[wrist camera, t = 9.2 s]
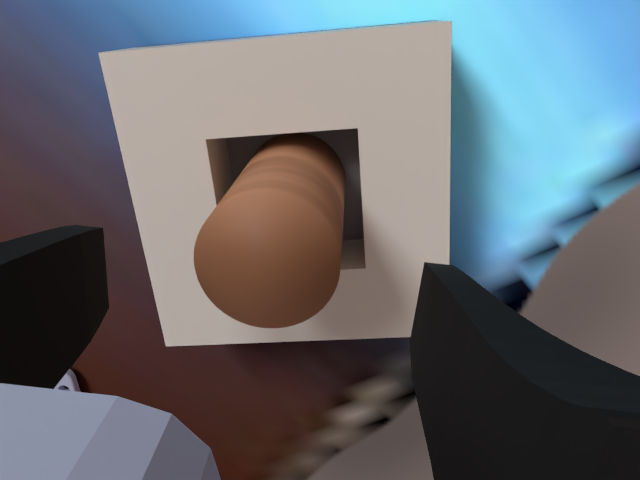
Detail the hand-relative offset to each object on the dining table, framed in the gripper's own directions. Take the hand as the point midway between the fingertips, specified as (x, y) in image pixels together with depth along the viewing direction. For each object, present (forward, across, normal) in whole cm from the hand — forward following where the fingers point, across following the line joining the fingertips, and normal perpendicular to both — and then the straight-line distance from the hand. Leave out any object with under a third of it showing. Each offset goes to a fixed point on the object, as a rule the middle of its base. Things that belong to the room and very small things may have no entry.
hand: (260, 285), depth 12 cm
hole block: (+9, 0, 0) cm, 9 cm away
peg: (+8, 0, 0) cm, 8 cm away
